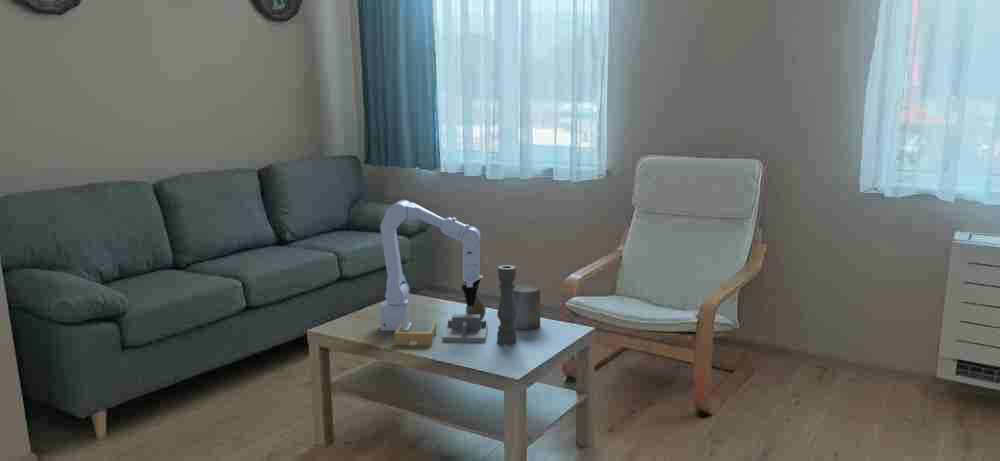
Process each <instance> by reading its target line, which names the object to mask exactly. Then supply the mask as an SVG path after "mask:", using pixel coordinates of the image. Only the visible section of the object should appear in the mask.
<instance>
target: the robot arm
mask: <svg viewBox="0 0 1000 461" xmlns="http://www.w3.org/2000/svg"><path fill="white" fill-rule="evenodd" d="M418 219H419V220H421V221H423V222H425V223H428V224H430V225H433V226H435V227H437V228H439V229H440V231H441V233H442V234H444V235H445V236H448V237H451V238H452V239H455V240H456V241H459V242H461V243H462V277H461V279H462V280H463V281H464V283H465V284H462V285H461V289H462V291H463V293H464V296H465V297H464V298H465V302H466V307H467V306H474V302H475V298H476V295H477V292H478V289H479V285H480V282H481V280H483V279H484V276H483V275H481V274H480V272H481V270H480V269H481V266H480V265H481V260H480V259H481V255H480V252H481V251H480V240H481V237H482V236H481V231H480V230H479V229H478V228H477V227H476V226H473V225H472V226H470V225H469V224H467V223H466V224H464V223H463V222H460V221H458V220H457V218H456V217H450V216H449V217H446V218H443V217H441V216H439V215H437V214H436V213H434V212H432V211H431V210H428V209H426V208H425V207H423V206H421V205H419V204H417V203H414V202H412V201H411V202H410V201H409V200H407V199H400V200H399V201H397V202H396V203H394V204H392V205H391V206H389V207H388V209H387V210H385V214H384V217H383V219H382V221H381V223H380V225H379V226H380V234H381V240H382V241H381V243H382V248H383V254H384V261H385V267H386V273H387V274H386V275H387V278H386V285H385V286H386V291H385V293H384V295H385V296H384V298H385V300H386V302H381V305H380V331H385V332H386V331H390V332H392V331H394V332H396V330H397V328H398V326H399V325H400V323H401V322H403V332H409V330H410V328H411V325H412V324H413V323H412V322H410V320H409V319H410V316H409V313H410V312H409V310H410V309H409V300H408V298H407V297H408V296H409V294H410V291H411V290H410V289H411V288H410V286H409V284H408V283H407V281H406V276H405V275H404V274H403V268H402V267H403V266H402V261H401V260H402V259H401V254H400V248H399V247H400V246H399V241H398V235H397V234H398V233H397V229H398V227H399V226H400V225H401V224H402V223H403V222H404V221H405V220H408V221H413V220H418ZM399 332H401V329H400V331H399Z"/></svg>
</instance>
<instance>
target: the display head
mask: <svg viewBox="0 0 1000 461" xmlns="http://www.w3.org/2000/svg"><path fill="white" fill-rule="evenodd" d="M488 327H489V326H488V324H487V319H482V320H481V321H480V315H475V314H466V313H465V314H464V313H462V314H461V313H459V314H455V313H454V314H452V317H451V318H450V319H448V320H447V324H446V326H445V329H444V332H443V335H442V342H444V343H445V342H447V343H449V342H450V343H453V342H454V343H486V341H487V334H488V330H489V328H488Z"/></svg>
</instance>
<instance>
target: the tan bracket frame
mask: <svg viewBox="0 0 1000 461" xmlns="http://www.w3.org/2000/svg"><path fill="white" fill-rule="evenodd" d="M400 329H401V331H400ZM433 335H434V336H436V335H437V322H433V324H432V326H431V329H430V330H429V331H403V322H401V323H400V325H399V326H398V328H397V330H396V331H394V346H410V345H411V342H416V346H424V347H425V346H426V347H427V346H428V347H429V346H433Z"/></svg>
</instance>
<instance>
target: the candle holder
mask: <svg viewBox="0 0 1000 461" xmlns="http://www.w3.org/2000/svg"><path fill="white" fill-rule="evenodd" d="M516 273H517V272H516V266H515V265H509V264H507V265H506V264H503V265H499V266H498V267H497V277H498V281H499V282H500V284H498V288H499V289H500V300H499V305H498V308H497V318H498V320H499V323H500V324H499V326H498V327H497V329H498V330H497V335H496V338H497V342H496V343H497V344H500V345H504V346H508V345H509V346H512V345H514V344H516V343H517V330H516V329H517V328H516V327H515V326H514V324H513V322H514V319H515V317H516V310H515V306H514V301H513V289H514V288H515V286H516V285H515V284H514V281H515V279H516V276H517V274H516Z"/></svg>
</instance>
